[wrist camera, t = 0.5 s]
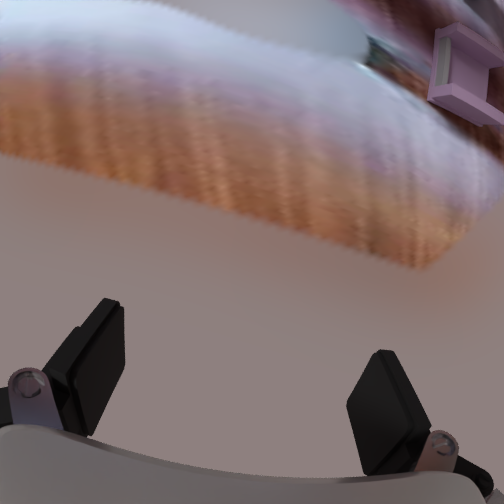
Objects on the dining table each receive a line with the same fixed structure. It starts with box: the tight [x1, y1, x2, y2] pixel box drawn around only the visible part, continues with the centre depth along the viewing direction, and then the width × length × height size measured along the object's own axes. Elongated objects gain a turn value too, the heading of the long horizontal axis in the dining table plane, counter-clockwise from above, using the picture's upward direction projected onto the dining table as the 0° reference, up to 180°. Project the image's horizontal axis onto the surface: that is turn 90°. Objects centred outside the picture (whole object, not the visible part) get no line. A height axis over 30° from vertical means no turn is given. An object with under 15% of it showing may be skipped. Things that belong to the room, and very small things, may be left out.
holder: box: [427, 21, 504, 127], centre depth 29 cm, size 12×10×6 cm
